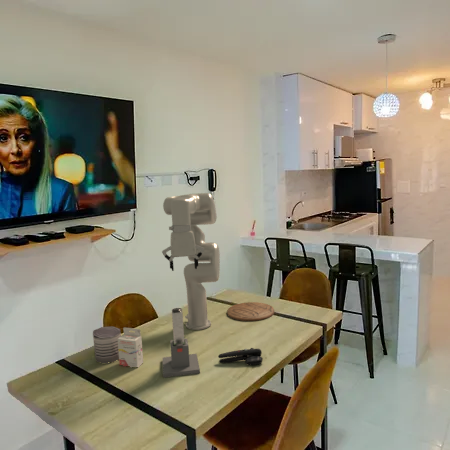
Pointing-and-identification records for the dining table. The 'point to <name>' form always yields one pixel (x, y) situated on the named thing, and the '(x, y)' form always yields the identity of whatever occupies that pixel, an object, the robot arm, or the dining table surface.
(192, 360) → the stand
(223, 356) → the can opener
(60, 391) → the dining table surface
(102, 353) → the can
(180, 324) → the column
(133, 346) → the ink cartridge box
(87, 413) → the dining table surface
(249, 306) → the trivet
